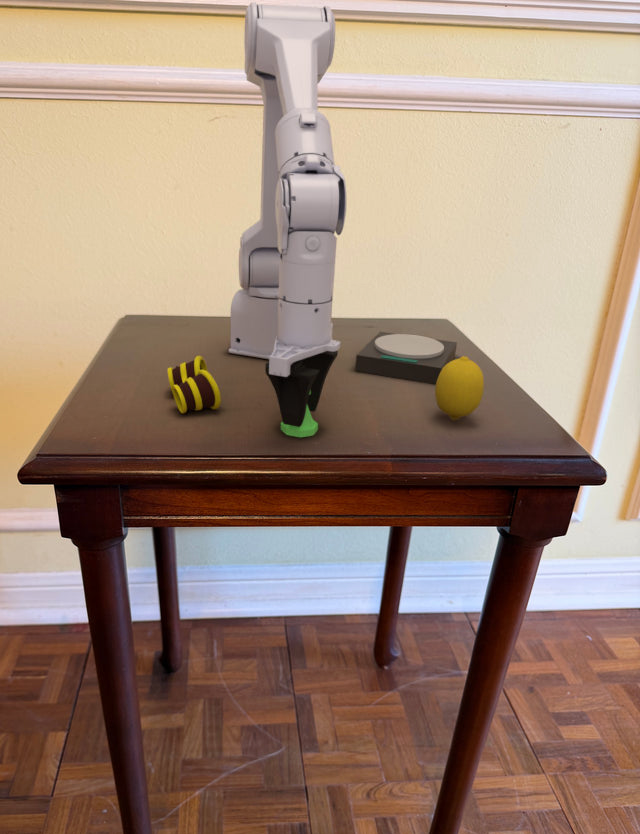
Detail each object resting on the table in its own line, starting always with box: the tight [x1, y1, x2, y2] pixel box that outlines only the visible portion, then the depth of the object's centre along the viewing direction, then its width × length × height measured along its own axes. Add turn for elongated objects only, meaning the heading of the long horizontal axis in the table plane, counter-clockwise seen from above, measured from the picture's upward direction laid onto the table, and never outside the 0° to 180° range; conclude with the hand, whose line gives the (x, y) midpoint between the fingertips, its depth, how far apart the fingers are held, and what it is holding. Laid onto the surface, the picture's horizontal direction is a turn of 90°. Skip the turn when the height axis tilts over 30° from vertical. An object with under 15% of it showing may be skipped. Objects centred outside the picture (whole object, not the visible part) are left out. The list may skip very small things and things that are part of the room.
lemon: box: [434, 355, 485, 421], centre depth 81 cm, size 6×6×8 cm
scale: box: [354, 331, 458, 385], centre depth 100 cm, size 12×13×3 cm
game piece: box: [280, 390, 319, 438], centre depth 78 cm, size 4×4×6 cm
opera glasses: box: [167, 355, 222, 414], centre depth 84 cm, size 10×5×5 cm, turn 15°
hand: (299, 416), depth 78 cm, fingers open, 4 cm apart
